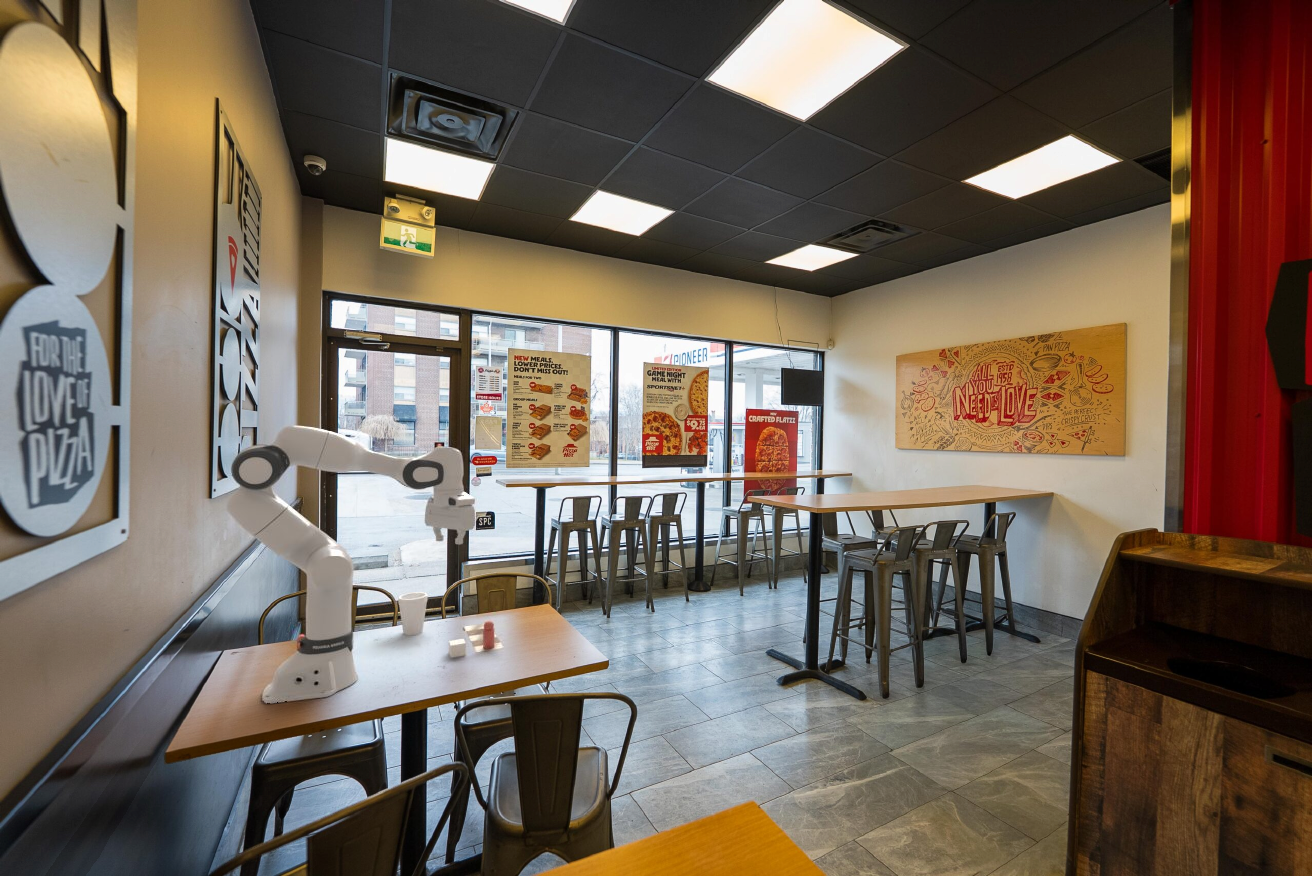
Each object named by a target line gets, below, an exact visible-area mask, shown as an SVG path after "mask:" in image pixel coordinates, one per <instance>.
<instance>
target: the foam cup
mask: <svg viewBox="0 0 1312 876" xmlns="http://www.w3.org/2000/svg"><path fill="white" fill-rule="evenodd" d="M427 602H428V593H427V592H422V591H420V592H418V591H415V592H408V593H404V594H401V595H399V597H398V605H399V606H398V607H399V613H400V620H401V626H402V633H403V635H405V636H416V635H418V634H422V633H423V631H424V626H425V625H424V623H425V619H426V618H425V616H426V609H427Z"/></svg>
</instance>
